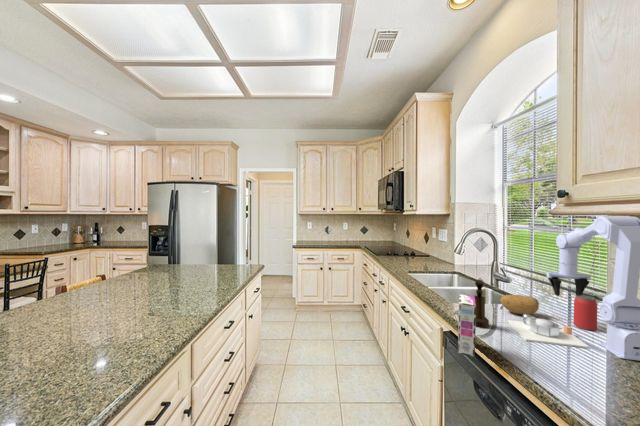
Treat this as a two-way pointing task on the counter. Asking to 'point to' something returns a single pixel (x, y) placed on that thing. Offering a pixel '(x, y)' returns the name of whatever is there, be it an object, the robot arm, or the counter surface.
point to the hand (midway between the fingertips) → (567, 295)
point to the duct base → (563, 338)
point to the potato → (520, 304)
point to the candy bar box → (467, 325)
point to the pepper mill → (480, 306)
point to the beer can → (585, 312)
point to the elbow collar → (540, 326)
